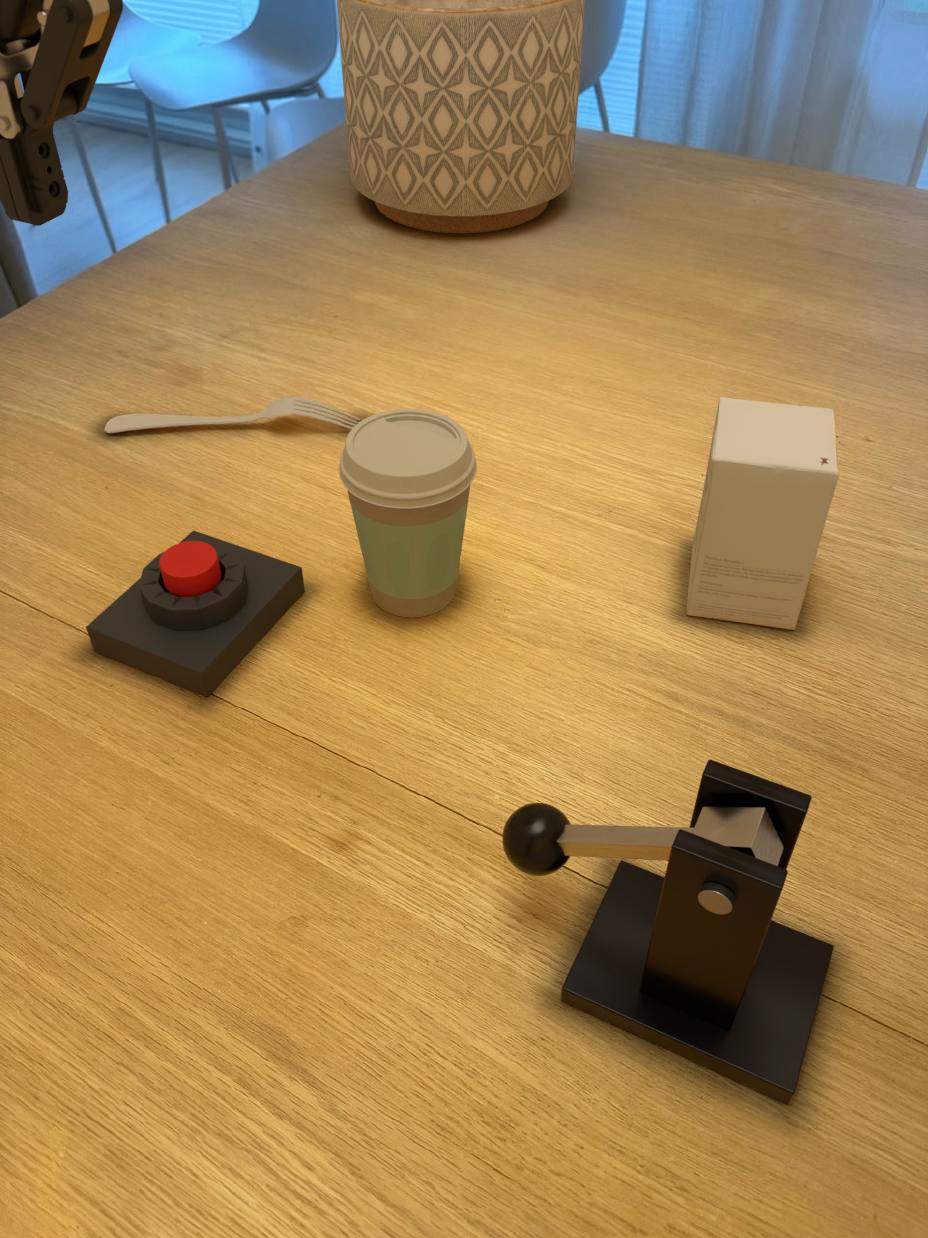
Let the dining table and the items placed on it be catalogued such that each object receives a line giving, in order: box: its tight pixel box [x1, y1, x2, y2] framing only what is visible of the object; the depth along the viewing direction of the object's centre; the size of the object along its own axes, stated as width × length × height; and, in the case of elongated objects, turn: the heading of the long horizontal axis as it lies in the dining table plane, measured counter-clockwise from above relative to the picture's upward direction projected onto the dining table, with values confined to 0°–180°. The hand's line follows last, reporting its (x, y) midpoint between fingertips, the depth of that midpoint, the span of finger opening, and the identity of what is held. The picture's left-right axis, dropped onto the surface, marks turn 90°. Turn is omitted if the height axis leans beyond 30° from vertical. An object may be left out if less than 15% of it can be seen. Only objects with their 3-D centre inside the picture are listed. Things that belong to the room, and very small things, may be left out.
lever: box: [501, 802, 783, 877], centre depth 47 cm, size 13×3×3 cm, turn 63°
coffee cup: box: [338, 408, 478, 618], centre depth 68 cm, size 9×9×12 cm
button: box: [159, 541, 221, 597], centre depth 67 cm, size 4×4×2 cm
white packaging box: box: [686, 396, 840, 630], centre depth 68 cm, size 7×7×13 cm
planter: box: [336, 0, 586, 234], centre depth 115 cm, size 26×26×22 cm
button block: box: [85, 530, 306, 698], centre depth 68 cm, size 11×9×4 cm
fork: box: [103, 395, 361, 434], centre depth 87 cm, size 3×21×3 cm, turn 91°
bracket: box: [560, 759, 835, 1105], centre depth 47 cm, size 11×8×13 cm
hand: (39, 216), depth 46 cm, fingers closed
